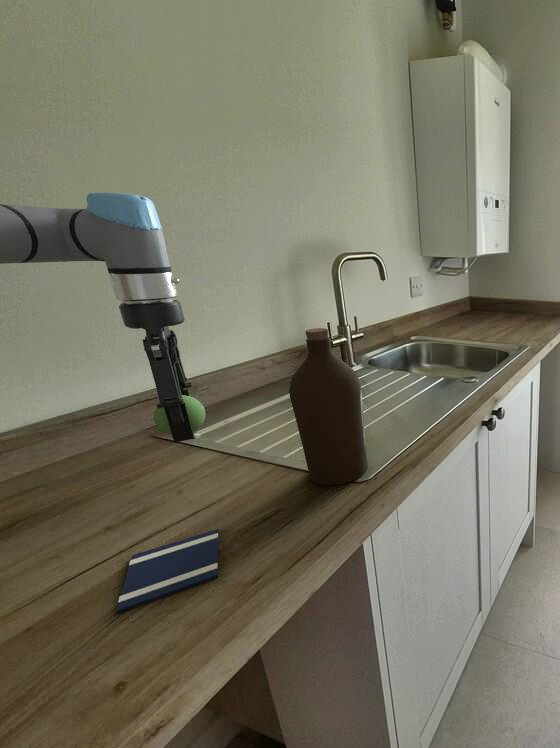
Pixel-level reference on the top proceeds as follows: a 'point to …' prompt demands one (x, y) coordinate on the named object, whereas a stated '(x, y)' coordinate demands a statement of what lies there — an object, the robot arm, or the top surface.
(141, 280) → the robot arm
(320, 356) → the olive oil
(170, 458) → the top surface
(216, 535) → the towel
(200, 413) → the mango
